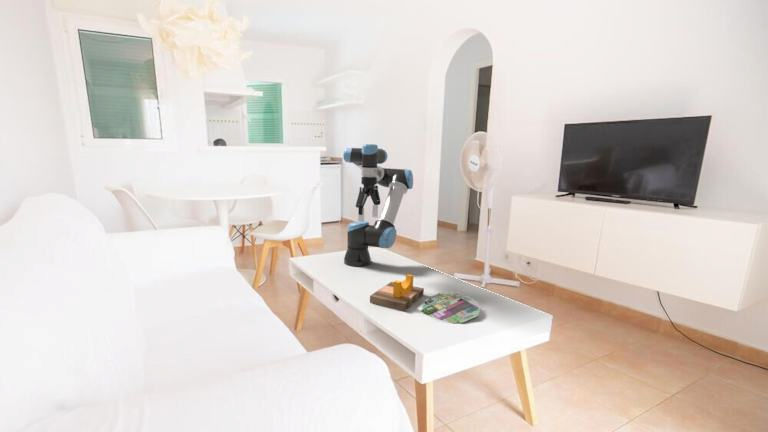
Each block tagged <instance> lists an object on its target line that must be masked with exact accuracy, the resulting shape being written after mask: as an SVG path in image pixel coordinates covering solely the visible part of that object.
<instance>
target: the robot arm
mask: <svg viewBox="0 0 768 432" xmlns="http://www.w3.org/2000/svg"><path fill="white" fill-rule="evenodd" d="M378 147H379V146H378V144H370V143H368V144H367V143H366V144H362V147H346V148H345V149H344V151H343V161H344V162H345V163H349V164H351V163H352V164H354V165H355V166H356V167H358V169H360V170H361V185H363V186H360V187H359V191H358V196H357V199H356V203H355V207H356V209H358V214H357V215H358V217H357V219H358V221H353V222H350V223H348V225H347V235H346V236H347V237H346V238H347V243H346V245H347V249H346V252H345V254H344V257H343V258H344V259H343V263H344V265H346V266H347V265H348V266H351V267H365V266H368V265H370V264H371V263H372V257H371V254H370V251H369V247H373V248H379V249H390V248H392V246H394V244H395V242H396V239H397V230H396V227H395V225H394V224H395V220H396V218H397V215H398V212H399V209H400V206H401V203H402V200H403V197H404V195H406V194H407V193H408V190H411V189H413V187H414V177H413V176H414V175H413V171H412V170H410V169H406V168H401V169H400V168H385V167H382V166H381V164H384V163H385V162H386V161H387V160H388V153H387V151H386V150H385V149H383V148H378ZM379 165H380V166H379ZM379 186H382V187H384V188H388V189H389V191H388V193H387V196H386V200H385V202H384V204H383V207H382V209H381V213H380V215H379V214H378V213H379V206H380V205H381V197H380V192H379ZM369 197H370V199H371V201H372V215H371V216H372V218H378V219H376V220H375V222H374V223H373V224H370V223H369V221H365V207H364V206H365V204H366V201H367V200H368V198H369ZM378 215H379V217H378Z"/></svg>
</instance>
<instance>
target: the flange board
mask: <svg viewBox="0 0 768 432" xmlns="http://www.w3.org/2000/svg"><path fill="white" fill-rule="evenodd" d="M393 286H394V281H390V282H388V283H387V284H385V285H384V286H382V287H381V288H380V289H378V290H377V291H375V292H374V293H372V294H371V295H370V296H369V303H370V304H375V305H378V306H383V307H385V308H389V309H390V308H391V309H395V310H399V311H403V312H406V311H407V310H408V309H409V308H410V307H412V306H413V305H414V304H415V303H416V302H417V301H418V300H420V299H421V298H422V297H423V296H424V294H425V293H424V291H425V289H424V288H423V287H418V286H414V285H413V290H411V291H409V292H408V293H406V294H404V295H403V296H401V297H399V298H397V297H393Z"/></svg>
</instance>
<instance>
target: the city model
mask: <svg viewBox="0 0 768 432" xmlns="http://www.w3.org/2000/svg"><path fill="white" fill-rule="evenodd" d="M480 309H481V306H480V305H479V304H478V301H476V299H474V298H472V297H470V296H468V295H465V294H461V293H456V292H453V293H452V292H447V293H444V292H443V293H440V292H439V293H437V294H433V295H432V296H429V297H428V298H427V299H425V301H423V303H422V304H421V310H420V311H421V312H422V314H424V315H427V316H430V317H432V318H435V319H438V320H440V321H444V322H446V323H449V324H453V325H455V324H456V323H459V324H460V323H465V322H467V321H470V320H472V319H474V318H476V317H478V316H479V314H480V313H481V310H480Z"/></svg>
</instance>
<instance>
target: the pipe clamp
mask: <svg viewBox="0 0 768 432" xmlns="http://www.w3.org/2000/svg"><path fill="white" fill-rule="evenodd" d="M393 282H394V286H393V297H397V298H399V297H401V296H403V295H404V294H406V293H408V292H409V291H411V290H413V286H414V275H413V274H406V275H405V280H403V281H400V280H396V279H395V280H394V281H393Z"/></svg>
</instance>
